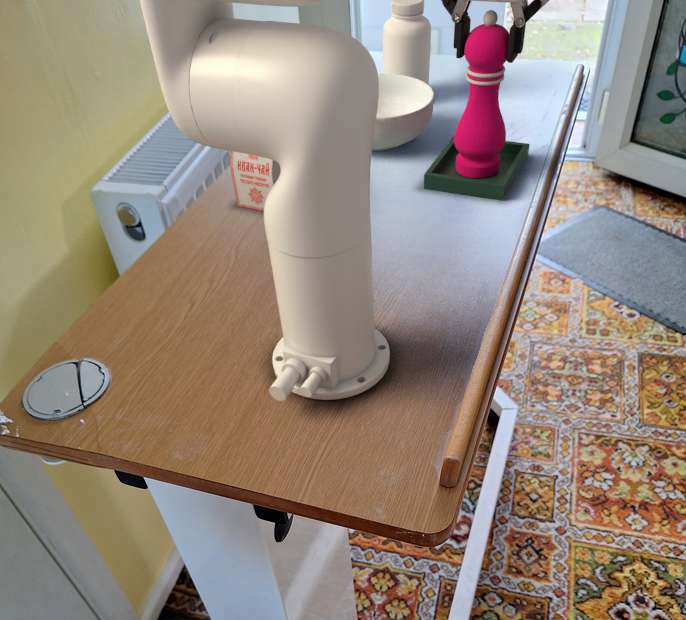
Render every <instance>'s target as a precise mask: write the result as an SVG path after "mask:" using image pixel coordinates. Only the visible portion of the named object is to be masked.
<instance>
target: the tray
mask: <svg viewBox="0 0 686 620" xmlns="http://www.w3.org/2000/svg"><path fill="white" fill-rule="evenodd" d="M454 136H455V134H454V135H453V136H452V138H451V139H450V140H449V141H448V142H447V144H446V145H445V146H444V148H443V149H442V150H441V152H440V153H439V154H438V155H437V157H436V158H435V159H434V161H433V162H432V164H430V166H429V167H428V169H427V170H426V171H425V172H424V175H423V189H426V190H432V191H439V192H445V193H452V194H457V195H465V196H471V197H477V198H484V199H491V200H498V201H504V199H505V197H506V195H507V194H508V192H509V191H510V189H511V187H512V185H513V183H514V182H515V181H516V178H517V177H518V175H519V173H520V172H521V170H522V168H523V166H524V165H525V163H526V161H527V159H528V158H529V152H530V146H531V145H530V143H527V142H517V141H510V140H506V141H505V145H504V146H503V148H502V149H501V150H500V151H499V152H498V154H499V156H500V163H499V170H498V171H497V173H496V174H494V175H492V176H490V177H486V178H468V177H465V176H462V175H460V174H459V173H458V172H457V171H456V157H457V155H458V154H459V152H458V150H457V149H456V147H455V145H454Z"/></svg>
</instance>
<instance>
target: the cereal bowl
mask: <svg viewBox="0 0 686 620" xmlns="http://www.w3.org/2000/svg"><path fill="white" fill-rule="evenodd" d="M378 79H379V98H378V109H377V116H376V123H375V130H374V136H373V145H372V152H384V151H389V150H392V149H395V148H397V147H399V146H402V145H404V144H407V143H409V142H410V141H413V140H414V139H416V138H418V137H419V136H420V135H421V134H422V133H423V132H424V131H425V129H426V128H427V127H428V125H429V123H430V121H431V118H432V115H433V111H434V105H435V92H434V90H433V88H432V86H430V84H429V85H428V84H426V83H425V82H423V81H421V80H419V79H416V78H413V77H409V76H403V75H396V74H383V73H378Z"/></svg>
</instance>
